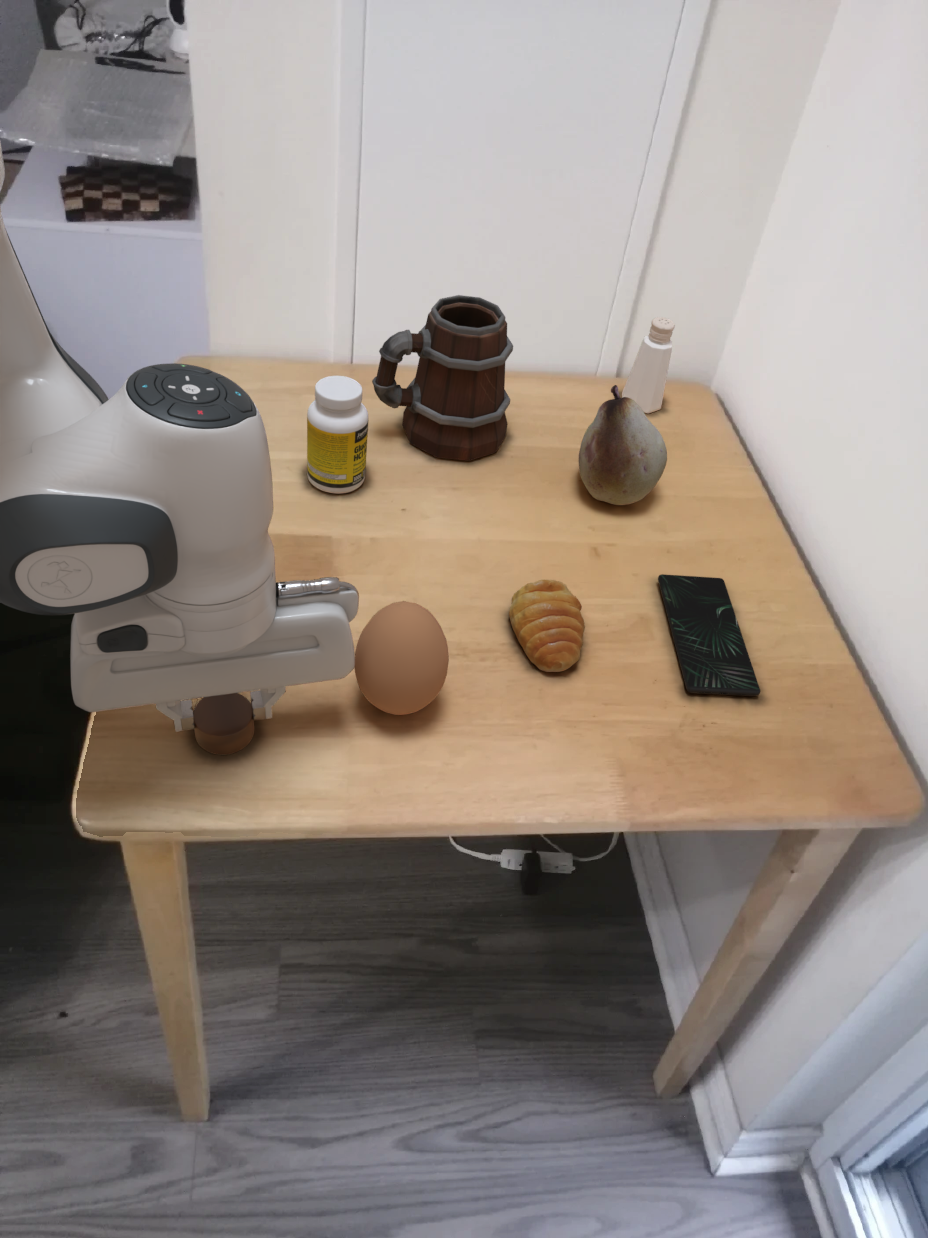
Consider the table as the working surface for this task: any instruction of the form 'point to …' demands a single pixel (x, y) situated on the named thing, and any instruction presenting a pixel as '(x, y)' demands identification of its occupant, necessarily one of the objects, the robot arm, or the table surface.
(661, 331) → the pepper shaker
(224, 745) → the brown bottle cap
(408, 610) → the egg
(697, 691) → the smartphone
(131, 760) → the table surface
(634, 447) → the fruit
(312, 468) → the pill bottle
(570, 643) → the pastry
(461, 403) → the mug
